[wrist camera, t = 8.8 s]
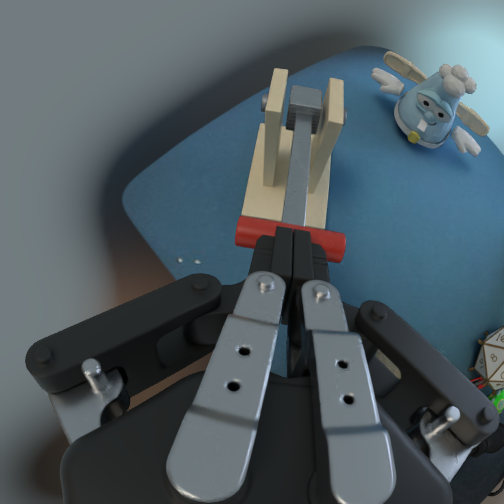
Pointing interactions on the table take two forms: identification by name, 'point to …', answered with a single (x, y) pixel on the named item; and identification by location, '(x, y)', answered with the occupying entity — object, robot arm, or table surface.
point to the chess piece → (490, 443)
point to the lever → (296, 181)
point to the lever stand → (279, 149)
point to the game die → (491, 360)
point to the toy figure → (432, 104)
